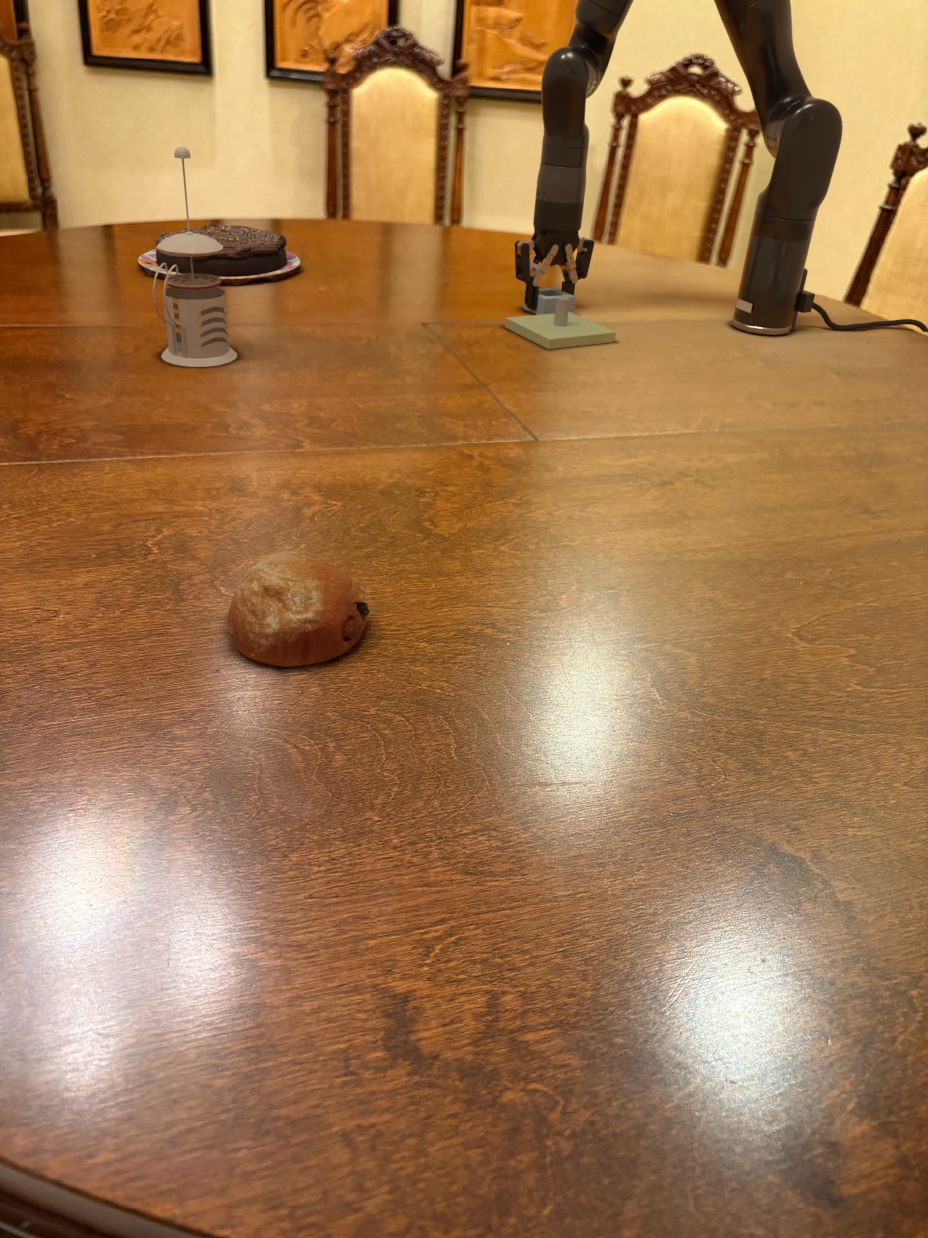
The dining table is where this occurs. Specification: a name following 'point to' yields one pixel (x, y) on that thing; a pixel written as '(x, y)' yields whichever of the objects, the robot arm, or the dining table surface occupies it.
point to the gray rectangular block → (549, 301)
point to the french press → (193, 301)
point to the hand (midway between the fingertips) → (548, 306)
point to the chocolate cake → (230, 256)
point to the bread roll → (296, 611)
